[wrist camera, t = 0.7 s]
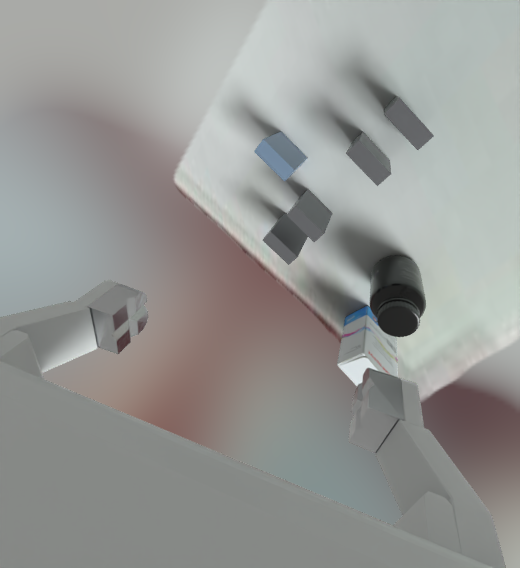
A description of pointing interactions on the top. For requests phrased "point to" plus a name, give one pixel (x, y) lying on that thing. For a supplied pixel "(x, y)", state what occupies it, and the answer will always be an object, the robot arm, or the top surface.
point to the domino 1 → (280, 155)
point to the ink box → (366, 347)
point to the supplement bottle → (397, 295)
